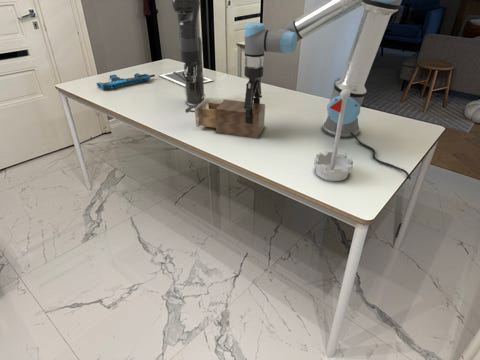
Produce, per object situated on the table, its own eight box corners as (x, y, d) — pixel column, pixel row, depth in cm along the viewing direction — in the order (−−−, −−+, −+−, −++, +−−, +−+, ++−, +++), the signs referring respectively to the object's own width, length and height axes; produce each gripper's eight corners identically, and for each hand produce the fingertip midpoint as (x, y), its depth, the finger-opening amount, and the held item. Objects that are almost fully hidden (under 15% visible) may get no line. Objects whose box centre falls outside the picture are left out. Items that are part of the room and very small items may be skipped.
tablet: (159, 75, 221) (159, 75, 220) (185, 70, 232) (185, 69, 231) (186, 87, 200) (186, 86, 200) (213, 80, 211) (213, 80, 211)
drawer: (184, 125, 152) (182, 106, 147) (193, 116, 160) (191, 98, 155) (233, 132, 146) (233, 112, 141) (240, 122, 155) (240, 104, 150)
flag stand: (336, 160, 127) (350, 81, 111) (358, 178, 117) (377, 93, 101) (306, 167, 123) (316, 85, 107) (326, 186, 113) (340, 99, 97)
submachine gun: (140, 68, 226) (159, 74, 209) (142, 73, 228) (160, 80, 211) (89, 77, 207) (104, 85, 190) (90, 84, 209) (106, 92, 192)
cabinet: (216, 132, 148) (215, 108, 142) (224, 122, 157) (224, 99, 151) (257, 138, 144) (258, 113, 138) (264, 127, 153) (265, 104, 147)
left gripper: (187, 44, 144) (191, 85, 153) (174, 51, 133) (178, 94, 143) (204, 45, 142) (206, 86, 151) (191, 53, 131) (195, 96, 141)
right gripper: (252, 58, 144) (251, 106, 156) (236, 73, 125) (236, 127, 137) (269, 59, 143) (267, 108, 154) (255, 75, 123) (254, 129, 135)
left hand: (193, 90), depth 147 cm, fingers closed
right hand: (252, 117), depth 146 cm, fingers closed on cabinet, 12 cm apart
